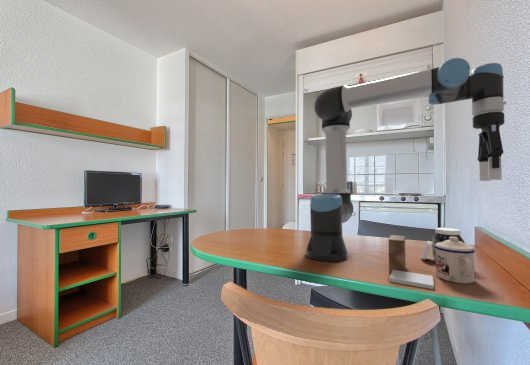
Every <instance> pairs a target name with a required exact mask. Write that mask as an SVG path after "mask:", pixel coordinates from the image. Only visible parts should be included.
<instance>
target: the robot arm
mask: <svg viewBox="0 0 530 365" xmlns="http://www.w3.org/2000/svg"><path fill="white" fill-rule="evenodd" d="M470 70H471V65H470V63H469V61H467V60H466V59H465V58H461V57H454V58H450V59H448V60H446V61H445V62H443V63H442V64H441V65H440V66H438V67H434V68H433V67H432V68H429V69H424V70H420V71H415V72H412V73H410V72H409V73H406V74H402V75H401V74H400V75H397V76H393V77H389V78H384V79H379V80H375V81H370V82H365V83H361V84H355V85H351V86H348V85H346V84H343V85H339V86H335V87H331V88H328V89H326V90H324V91H322V92H320V94H319V95H318V96H317V97H316V99H315V101H314V105H313V107H314V108H313V109H314V112H315V114H316V116H317V118H319V119H320V120H321V131H322V132H323V133H324V134H325V189H324V190H323V191H322V193H321V194H315V195H312V196H311V198H310V204H309V208H310V215H309V216H310V236H309V239H308V243H307V245H306V249H305V250H306V251H305V252H306V253H305V255H306V257H307V256H308V257H307V258H308V259H309V258H310V259H312V260H315V261H321V262H341V261H345V260H347V259H348V249H347V247H346V242H345V241H344V238H343V224H344V223H346V222H348V220H349V219H351V217H352V216H353V214H354V205H353V202H352V196H351V195H352V194H351V191H350V190H349V189H348V182H347V181H348V179H347V175H348V173H347V170H348V169H347V167H348V166H347V132H348V131H349V130H350V128H351V127H350V126H351V124H350V123H351V120H352V118H353V117H352V116H353V111H352V109H354V108H360V107H361V108H362V107H366V106H371V105H376V104H382V103H388V102H393V101H399V100H405V99H411V98H415V97H421V96H427V95H428V103H429V104H430V105H431V106H432V105H433V106H434V105H442V104H448V103H449V104H450V103H453V102H454V103H455V102H459V101H460V102H461V101H465V100H471V102H472V103H471V112H472V113H471V115H472V116H473V117H472V127H473V129H475V130H477V129H478V130H479V129H480V130H481V132H480V133H478V151H477V152H478V154H477V161H478V167H479V168H478V170H479V174H478V175H479V181H480V182H487V181H488V182H490V181H493V180H495V181H497V180H498V181H499V180H501V181H502V178H503V176H502V175H503V174H502V155H503V154H504V148H503V144H502V143H503V142H502V138H501V133H500V132H501V131H500V127H501V126H504V124H505V113H504V112H503V111H504V110H505V105H507V101H504V100H505V99H504V72H503V65H502V64H501V63H498V62H489V63H484V64H483V65H479V66H477V67H474V68H473V69H472V70H471V71H470ZM470 72H471V74H470Z"/></svg>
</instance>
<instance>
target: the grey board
mask: <svg viewBox="0 0 530 365" xmlns="http://www.w3.org/2000/svg"><path fill="white" fill-rule="evenodd" d="M390 273H391V274H390V276H389V282H390V283H396V284H402V285H407V286H412V287H413V286H414V287H418V288H424V289H429V290H435V285H434V283H435V282H434V277H433V275H430V274H422V273H417V272H411V271H410V272H409V271H406V270H405V271H398V270H392V272H390Z"/></svg>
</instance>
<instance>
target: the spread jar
mask: <svg viewBox="0 0 530 365" xmlns="http://www.w3.org/2000/svg"><path fill="white" fill-rule="evenodd" d="M434 228H435V233H434V235H433V236H432V239H431V241H429V240H427V242H426V245H425V246H424V249H423V252H422V253H421V254H422V255H421V257H420V258H421V259H422V260H425V261H426V259H427V257H428V254H429V252H430V250H431V252H432V258H433V260H434V262H435V263H436V249H435V247H434V246H435V244H436V243H439V242H443V241H445V240H449V237H457V238H458V241H461V242H463V243H464V244H466V242H465V240H464V239H463V237H462V236H461V229H458V228H454V227H453V228H452V227H434Z"/></svg>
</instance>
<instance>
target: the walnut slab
mask: <svg viewBox="0 0 530 365" xmlns="http://www.w3.org/2000/svg"><path fill="white" fill-rule="evenodd" d="M392 270H398V271H405V272H406V236H404V235H397V234H396V235H395V234H391V235H390V236H389V238H388V272H389V273H392Z"/></svg>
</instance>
